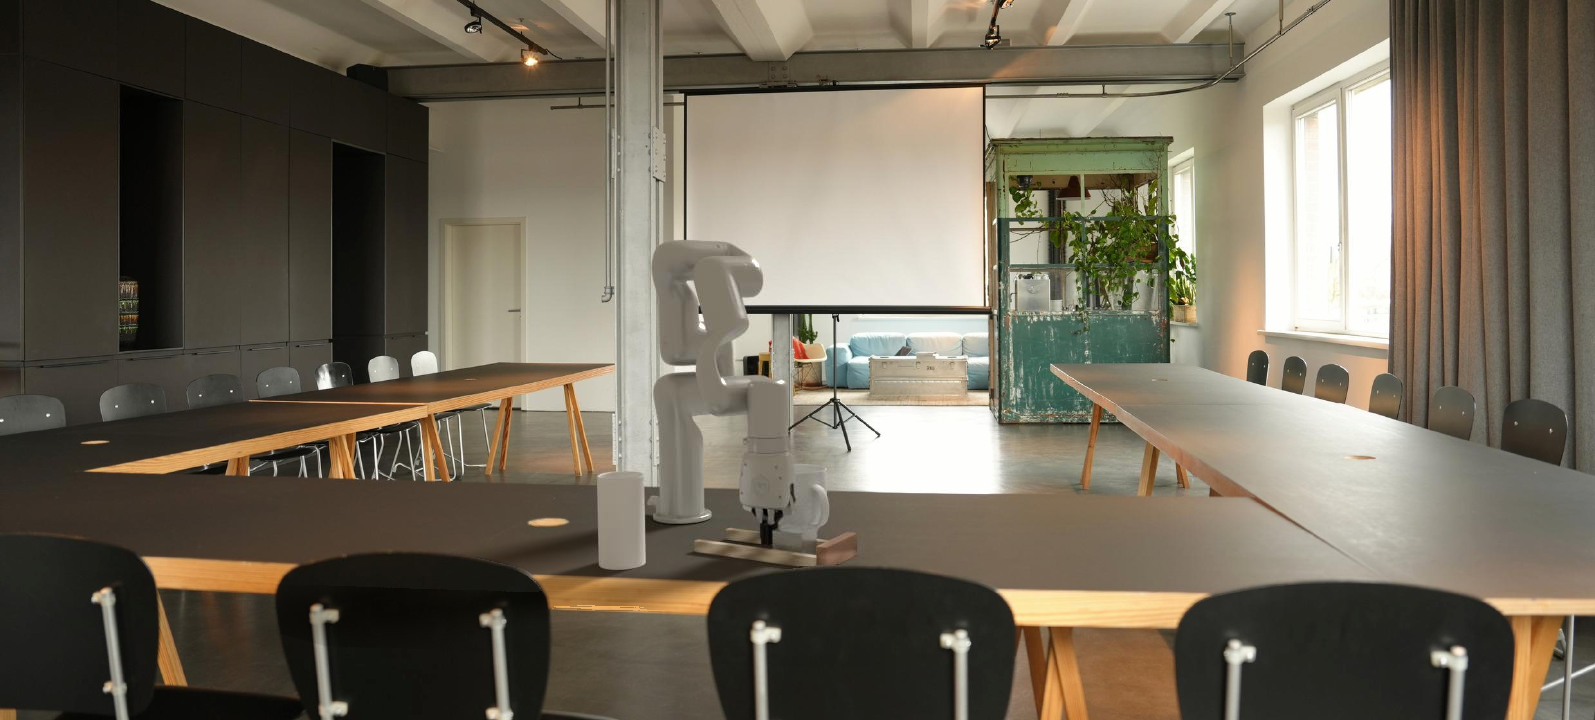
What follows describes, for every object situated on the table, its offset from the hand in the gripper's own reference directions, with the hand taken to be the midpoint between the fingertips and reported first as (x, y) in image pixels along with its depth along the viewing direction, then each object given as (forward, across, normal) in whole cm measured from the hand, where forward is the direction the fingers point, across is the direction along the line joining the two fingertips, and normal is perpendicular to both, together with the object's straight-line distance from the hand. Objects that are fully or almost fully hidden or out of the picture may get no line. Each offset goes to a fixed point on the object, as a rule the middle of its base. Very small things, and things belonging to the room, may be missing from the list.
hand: (769, 543), depth 178 cm
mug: (+2, -2, +16) cm, 16 cm away
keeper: (+2, +5, 0) cm, 6 cm away
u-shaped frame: (+2, +1, 0) cm, 2 cm away
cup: (+2, -19, -19) cm, 27 cm away
